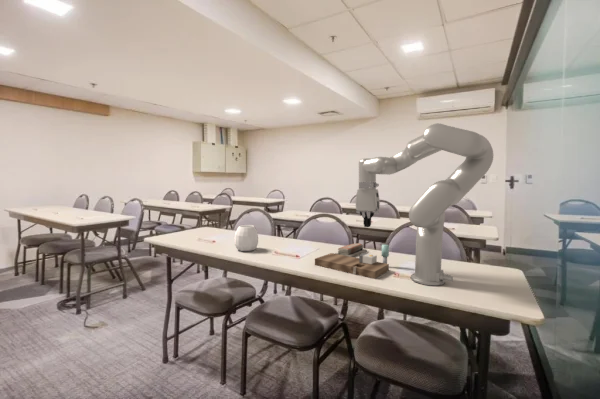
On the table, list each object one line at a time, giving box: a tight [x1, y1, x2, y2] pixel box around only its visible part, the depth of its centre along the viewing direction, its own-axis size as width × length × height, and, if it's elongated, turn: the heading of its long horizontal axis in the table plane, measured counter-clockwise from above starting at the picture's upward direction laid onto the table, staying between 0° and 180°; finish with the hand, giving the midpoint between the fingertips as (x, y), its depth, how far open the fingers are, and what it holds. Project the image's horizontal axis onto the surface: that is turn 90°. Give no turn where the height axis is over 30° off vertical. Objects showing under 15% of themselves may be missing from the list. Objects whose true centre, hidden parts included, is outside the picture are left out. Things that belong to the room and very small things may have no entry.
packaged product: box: [334, 242, 368, 258], centre depth 164 cm, size 18×5×10 cm
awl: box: [380, 243, 390, 264], centre depth 139 cm, size 3×3×10 cm
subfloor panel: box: [314, 252, 390, 280], centre depth 137 cm, size 30×15×3 cm, turn 51°
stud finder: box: [358, 252, 378, 264], centre depth 135 cm, size 6×5×3 cm
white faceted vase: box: [234, 224, 259, 252], centre depth 170 cm, size 13×13×14 cm
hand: (367, 226), depth 137 cm, fingers closed
